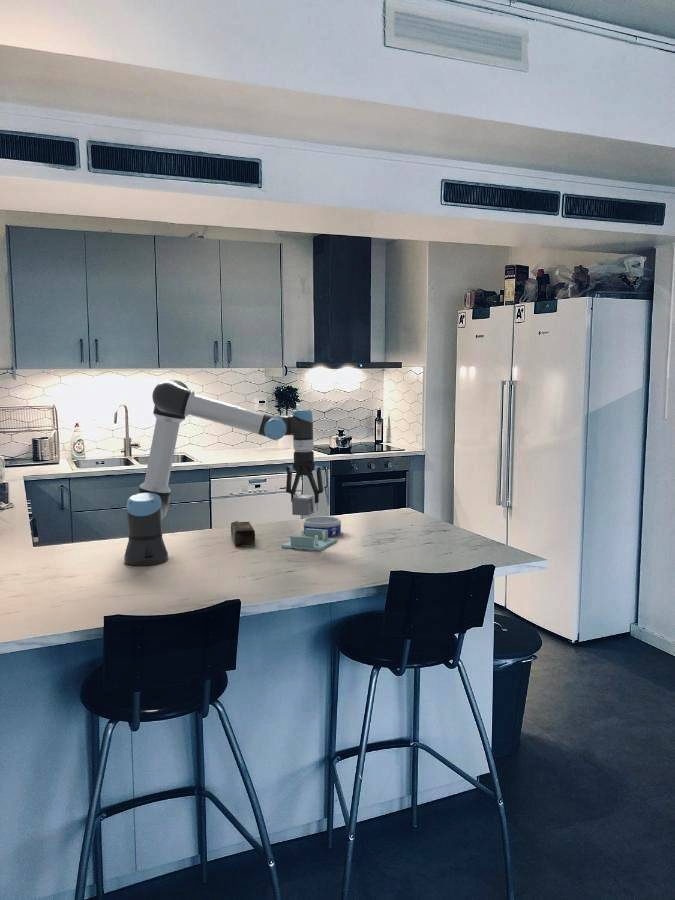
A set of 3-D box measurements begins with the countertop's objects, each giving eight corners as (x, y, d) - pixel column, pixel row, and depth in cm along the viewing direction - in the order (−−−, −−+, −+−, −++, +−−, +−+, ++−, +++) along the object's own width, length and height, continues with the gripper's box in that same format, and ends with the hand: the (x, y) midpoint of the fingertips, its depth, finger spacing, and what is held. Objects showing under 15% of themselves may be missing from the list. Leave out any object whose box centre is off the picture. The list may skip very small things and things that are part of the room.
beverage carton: (250, 535, 297) (249, 519, 296) (255, 546, 278) (255, 529, 278) (230, 536, 295) (230, 520, 294) (235, 547, 277) (234, 530, 276)
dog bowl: (323, 528, 308) (323, 514, 307) (348, 533, 297) (348, 519, 296) (296, 534, 298) (295, 519, 297) (320, 540, 286) (320, 525, 286)
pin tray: (281, 547, 274) (281, 536, 274) (299, 538, 289) (299, 527, 288) (320, 551, 268) (320, 539, 268) (336, 541, 283) (336, 530, 282)
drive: (301, 509, 280) (301, 493, 279) (317, 510, 278) (317, 494, 277) (292, 514, 270) (292, 498, 269) (308, 515, 268) (308, 499, 267)
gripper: (275, 451, 270) (277, 512, 273) (326, 452, 265) (327, 513, 268) (281, 449, 277) (283, 508, 280) (331, 449, 273) (332, 510, 275)
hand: (305, 511), depth 274 cm, fingers closed on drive, 7 cm apart
